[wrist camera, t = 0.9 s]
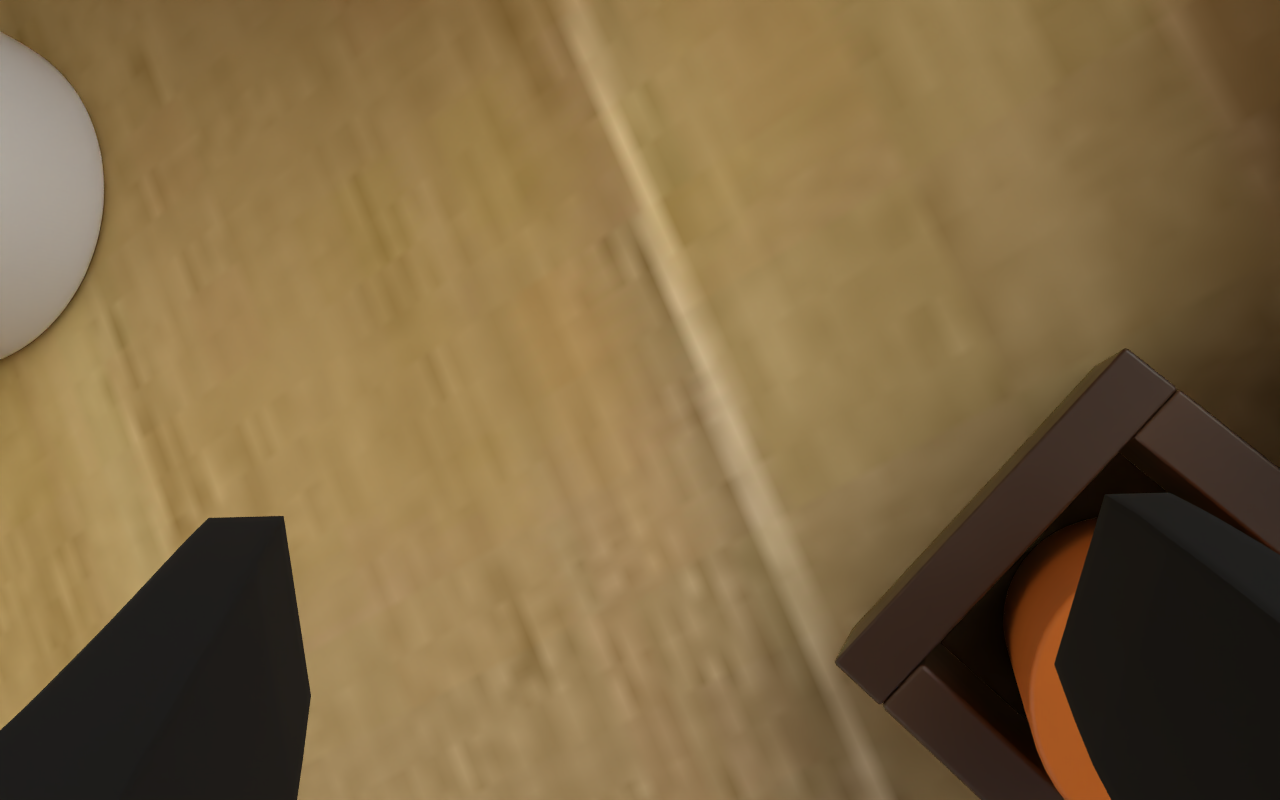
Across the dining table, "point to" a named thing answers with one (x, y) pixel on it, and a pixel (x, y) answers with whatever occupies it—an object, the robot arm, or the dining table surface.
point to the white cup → (43, 194)
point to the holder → (1007, 526)
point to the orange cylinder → (1050, 655)
